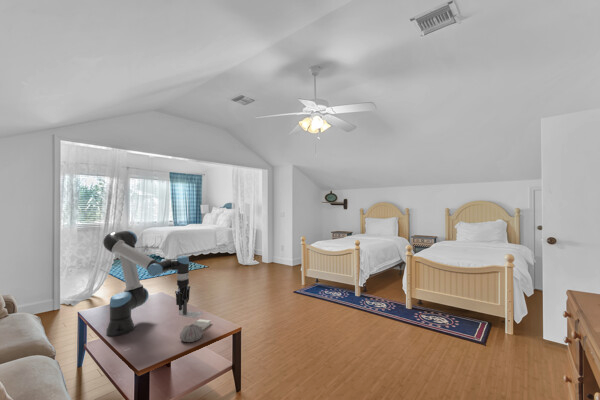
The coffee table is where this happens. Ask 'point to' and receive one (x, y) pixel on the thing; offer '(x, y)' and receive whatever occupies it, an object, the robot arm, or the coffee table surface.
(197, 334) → the sea urchin shell
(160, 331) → the coffee table surface
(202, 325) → the tile
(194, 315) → the grey l-shaped block
